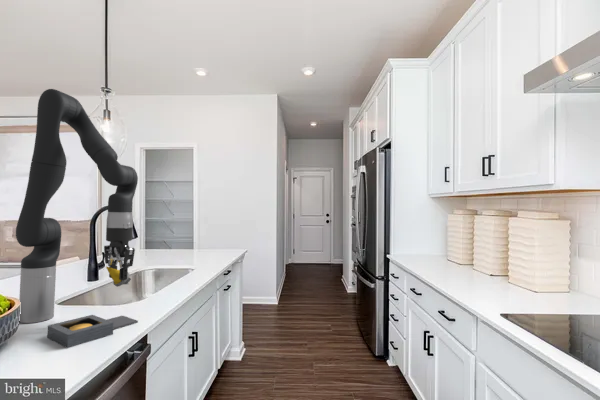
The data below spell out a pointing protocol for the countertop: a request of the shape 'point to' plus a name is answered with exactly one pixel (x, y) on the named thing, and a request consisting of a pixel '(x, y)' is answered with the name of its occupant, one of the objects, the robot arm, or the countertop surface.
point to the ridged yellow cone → (117, 277)
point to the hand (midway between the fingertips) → (118, 278)
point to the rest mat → (122, 321)
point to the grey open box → (79, 331)
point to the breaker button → (79, 326)
